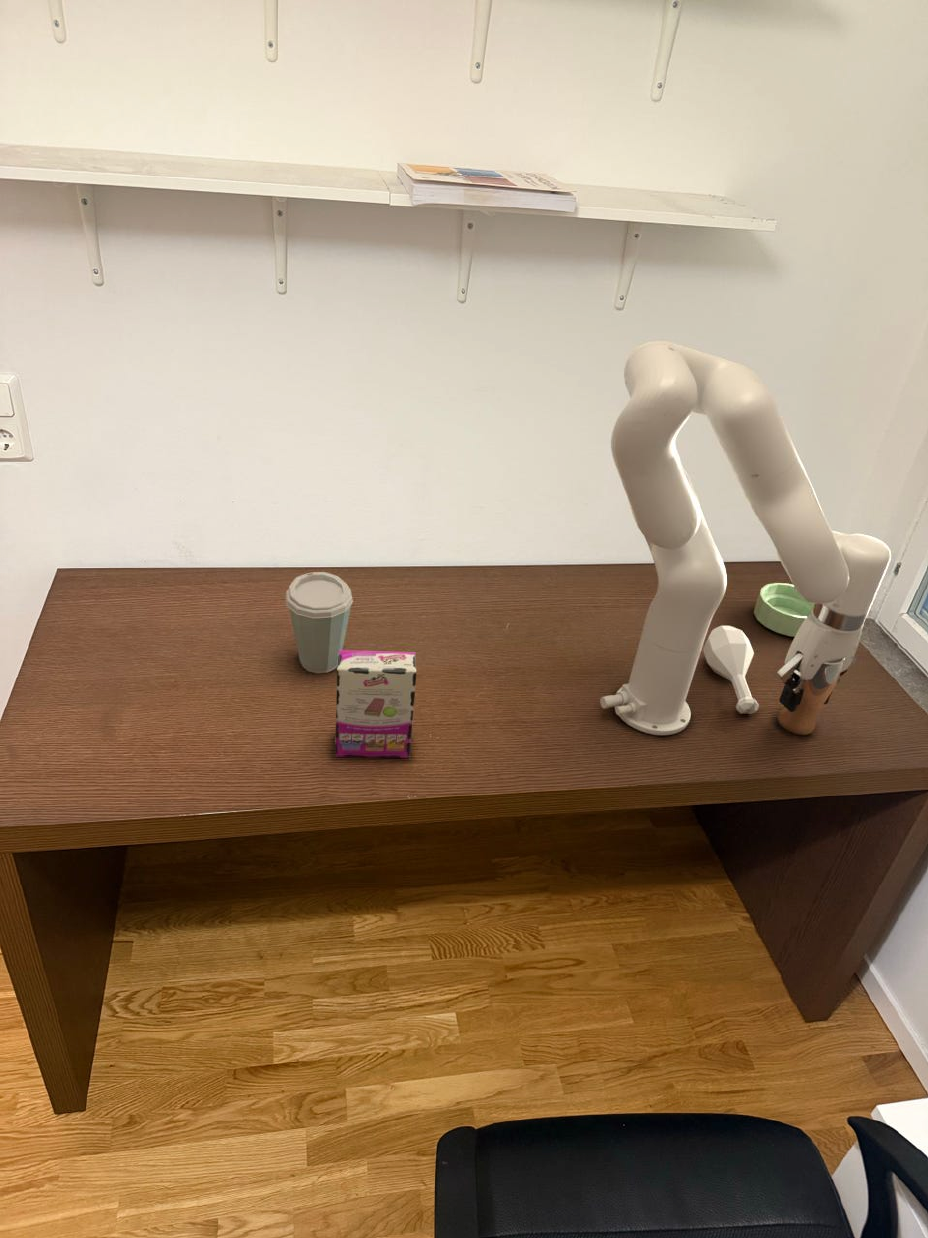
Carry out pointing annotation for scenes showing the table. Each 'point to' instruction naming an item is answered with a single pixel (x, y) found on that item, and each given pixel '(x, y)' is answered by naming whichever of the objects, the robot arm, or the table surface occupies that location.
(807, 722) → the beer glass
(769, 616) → the sage bowl
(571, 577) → the table surface
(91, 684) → the table surface
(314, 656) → the disposable coffee cup
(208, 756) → the table surface
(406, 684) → the candy bar box
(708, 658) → the chicken leg
